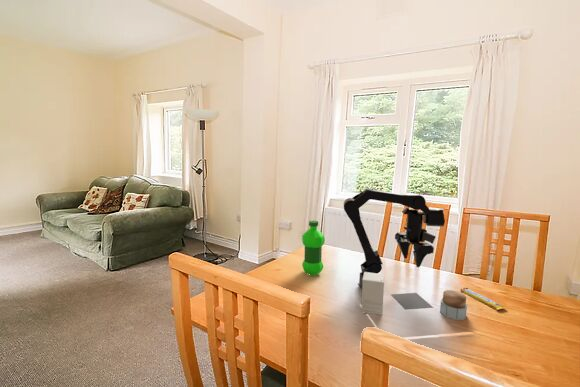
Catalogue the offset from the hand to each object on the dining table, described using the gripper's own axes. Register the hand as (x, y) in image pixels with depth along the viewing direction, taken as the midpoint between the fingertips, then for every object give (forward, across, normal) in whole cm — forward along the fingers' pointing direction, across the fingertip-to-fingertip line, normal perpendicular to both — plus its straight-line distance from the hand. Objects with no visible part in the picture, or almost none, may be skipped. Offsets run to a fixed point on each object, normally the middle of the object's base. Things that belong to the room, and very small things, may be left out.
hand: (411, 262), depth 116 cm
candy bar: (+13, -10, -24) cm, 29 cm away
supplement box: (+13, -11, +21) cm, 27 cm away
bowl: (+12, -18, -6) cm, 23 cm away
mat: (+12, -8, +4) cm, 15 cm away
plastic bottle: (+13, +22, +36) cm, 44 cm away
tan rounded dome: (+8, -18, -6) cm, 21 cm away
